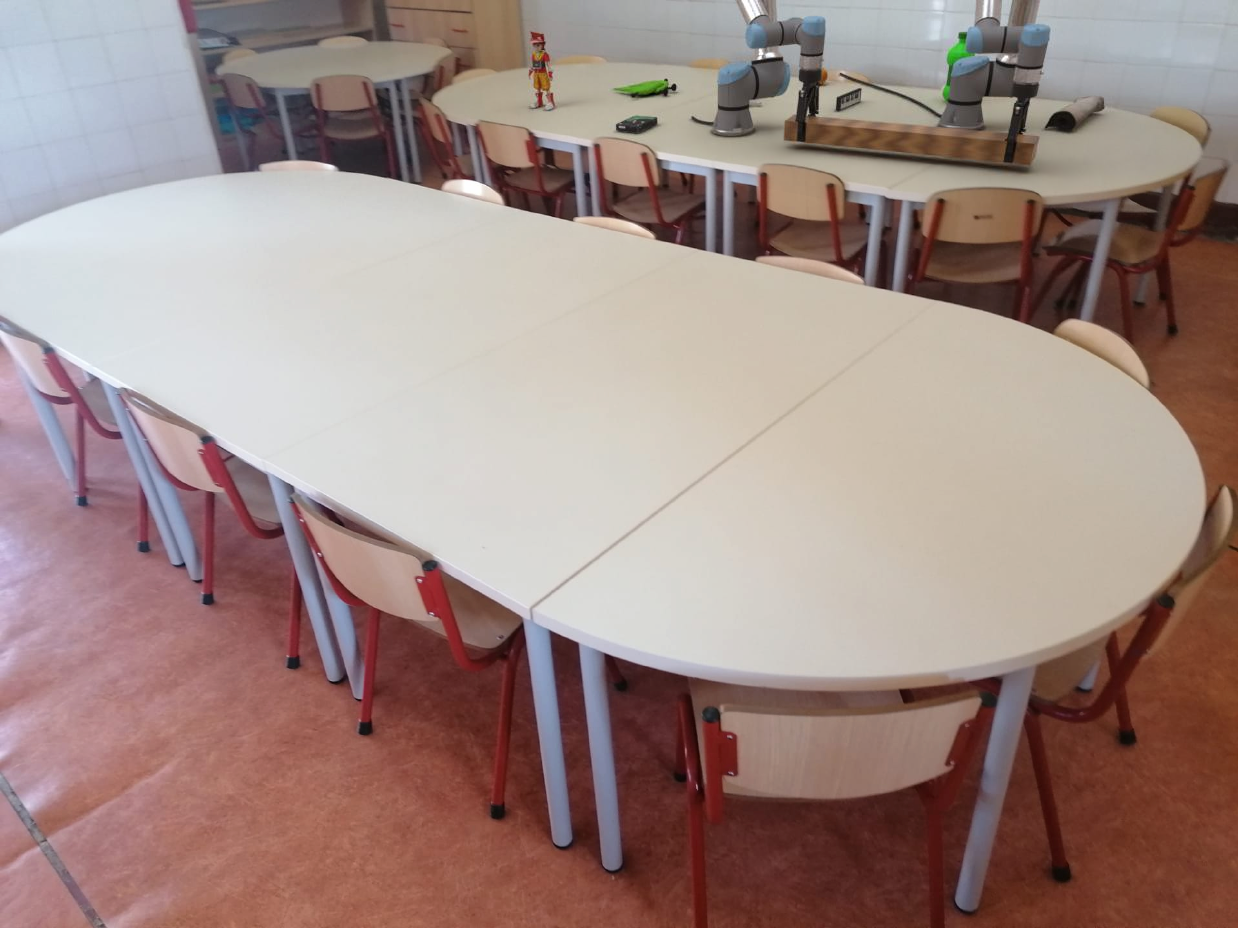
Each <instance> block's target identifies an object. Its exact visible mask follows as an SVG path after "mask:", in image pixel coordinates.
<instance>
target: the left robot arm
mask: <svg viewBox="0 0 1238 928" xmlns="http://www.w3.org/2000/svg"><path fill="white" fill-rule="evenodd" d="M735 2H736V4H737V7H738V9H739V11H740V13H741V16H742V17H743V20H744V22H745V24H746V29H745V34H744V35H745V36H744V38H745V43H746V45H747V47H748V48H749V49H752V50H754V56H753V57H752V58H751V60H750V62H749V61H734V62H730V63H727V64H724V65H723V66H721V67H720V68H719V70H718V75H717V82H716V83H717V111H716V114H715V118H714V120H713V121H706V120H702V119H698V118H696V117H695V116H693V115H692V116H691V117H690V118H691V119H692V120H693V121H695V122H697V123H699V124H704V125H708V126H709V125H710V126H712V133H713V134H715V135H717V136H721V137H741V136H746V135H750V134H752V133H754V127H755V126H754V122H753V118H752V115H751V111H750V106H749V100H761V99H768V98H769V99H770V98H775V97H780V96H783V95H784V94H785V93H786V92H787V90H788V87H789V85H790V82H791V68H790V64H789V63H788V62H787V61H785V60H784V55H783V54H782V53H780V51H779V47H783V46H791V45H798V46H800V53H799V65H798V67H799V70H798V81H799V82H800V83H802V86H801V89H799V90H798V98H797V105H796V106H797V107H796V113H795V115H796V120H795V122H798V130H797V141H801V142H800V143H803V142H805V134H806V122H805V120H806V116H817V115H819V114H820V86H821V85H820V82H819V81H821V77H822V69H821V67H822V68H823V63H824V61H825V58H824V50H825V41H826V32H827V29H826V18H825V17H824V16H819V15H809V16H805V17H804V18H801V17H797V16H796V17H795V16H792V17H790V18H787V19H786V20H779V21H778V11H777V10H778V7H777V0H735Z"/></svg>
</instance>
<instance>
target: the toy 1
mask: <svg viewBox="0 0 1238 928" xmlns="http://www.w3.org/2000/svg"><path fill="white" fill-rule="evenodd" d="M529 33H530V35H531V36H528V37H527V38H528V39H529V40H528V41H527V43H529V44H530V43H531V44H532V48H533V50H534V51H533V52H532V55H531V58H530V59H531V63H530V66H528V74H527V75H528V76H527V77H528V79H529V80H531V75H532V74H533V84H532V85H533V86H532V87H533V88H534V89H535V90H536V92H534V95H535V97H536V100H535V101H533V102H531V105H530V108H531V109H535V108H538V107H542V106H544V101H543V100H544V99H543V95H544V92H546V94H545V97H546V99H547V103H546V104H545V106H544V110H546V111H549V110H553V109H554V107H555V106H556V105H555V99H554V92H551V91H550V90H551V86H552V84H551V82H552V81H553V80H554V77H553V73H554V71H555V70H554V69H552V68H551V63H550V61H551V59H550V58H551V57H550V54H549V53H548V52H547V50H546V48H545V46H546V44H547V41H545V35H544V33H543V32H542V33H539V32H535V31H529Z"/></svg>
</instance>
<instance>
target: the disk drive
mask: <svg viewBox="0 0 1238 928" xmlns="http://www.w3.org/2000/svg"><path fill="white" fill-rule="evenodd" d="M657 124H658V116H650V115H648V116H647V115H646V116H645V115H638V114H637V115H633V116H631V117H628V118H626V119H624V120H621V121H619V122H617V123H615V130H616V131H617V132H624V133H634V134H639V133H642V132H644V131H646V130H647V129H649V128H650V129H651V128H653V127H654V126H656V125H657Z"/></svg>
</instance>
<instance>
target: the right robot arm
mask: <svg viewBox="0 0 1238 928" xmlns="http://www.w3.org/2000/svg"><path fill="white" fill-rule="evenodd" d="M1040 3H1041V0H1011V4H1010V10H1009V15H1008V20H1007V25H1003V26H1002V25H1001V19H1002V8H1003V7H1002V5H1003V0H975V10H974V11H975V12H974V23H973V26H970V27H968V28H967V31H966V32H967V37H966V45H965V51H966V52H967V53H975V56H971V57H965V58H962V59H959V60H957V61H956V62H955V63H954V65H953V70H952V74H951V83H950V89H949V96H948V102H947V101H946V106H945V108H944V110H943V112H942V114H941V113H938V112H937V111H935V110H934V109H933V108H931V107H929V106H928V105H926V104H924V103H922V102H921V101H919V100H917V99H915V98H913V97H910V96H908V95H907V94H906V95H905V94H903V93H900V92H898V91H896V90H892V89H888V88H886V87H882V86H879V85H876V84H873V83H870V82H867V81H864V80H860V79H858V78H854V77H852V76H850V75H847V74H845V73H843V72H839V75H840V76H842V77H844V78H845V79H849V80H851V81H854V82H857V83H859V84H863V85H866V86H868V87H872V88H875V89H878V90H882V91H885V92H887V93H891V94H893V95H896V96H898V97H902V98H904V99H906V100H909V101H911V102H913V103H915V104H917V105H918V106H920V107H923V108H924V109H926V110H928V111H929V112H931V113H932V114H933V115H935V116H936V117H939V118H940V119H939V121H938V127H942V128H954V129H965V130H976V131H981V130H982V129H983V128H984V121H985V120H984V114H983V105H982V104H983V98H1011V99H1012V98H1016V99H1017V100H1015V102H1014V103H1013V108H1012V114H1011V119H1010V123H1009V127H1008V132H1007V133H1008V136H1007V139H1005V141H1007V145H1006V150H1005V156H1004V161H1003V162H1007V163H1006V164H1009V163H1013V159H1014V154H1015V149H1016V144H1017V136H1018V134H1022V135H1024V133H1026V132H1027V128H1026V124H1027V117H1028V113H1029V107H1030V105H1031V99H1033V98H1035V97H1037V96H1038V93H1039V89H1040V81H1041V77H1042V75H1044V74H1045V71H1044V70H1043V67H1044V63H1045V58H1046V55H1047V50H1048V45H1049V42H1050V35H1051V27H1050V25H1046V24H1043V23H1036V21H1037V17H1038V12H1039V7H1040ZM981 54H984V55H981ZM985 54H987V55H985ZM988 54H997V55H996V57H995V60H990V59H991V58H990V57H989V56H988Z"/></svg>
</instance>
